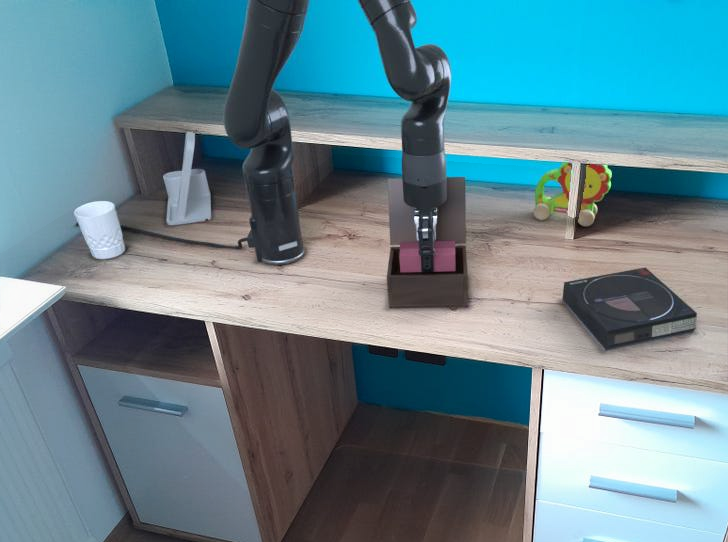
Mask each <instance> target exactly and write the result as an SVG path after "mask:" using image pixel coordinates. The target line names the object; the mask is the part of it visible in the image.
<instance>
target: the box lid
mask: <svg viewBox="0 0 728 542" xmlns="http://www.w3.org/2000/svg"><path fill="white" fill-rule="evenodd" d="M387 192H388V193H387V197H388V220H389V221H388V222H389V223H388V224H389V245H390V246H400V242H419V241H418V240H417V237H416V224H415V220H414V214H415V208H414V207H410V206H408V205H407V204H406V203H405V202H404V197H403V181H402V177H401V178H387ZM466 196H467V195H466V176H447V200H446V201H445V203H444V204H442V205H440V206H438V207H434V208H437V224H436V240H434V241H455V245H457V244H458V245H459V244H460V245H461V244H467V212H466V211H467V210H466V209H467V208H466V207H467V206H466V203H467V202H466V201H467V200H466V199H467V198H466Z"/></svg>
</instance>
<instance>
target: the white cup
mask: <svg viewBox="0 0 728 542" xmlns="http://www.w3.org/2000/svg"><path fill="white" fill-rule="evenodd" d="M73 215H74V217H75V219H76V223H77V222H78V224H79V229H80V231H81V234H82V236H83V238H84V240H85V242H86V244H87V246H88V249H89V251H90V254H91V256H92V257H93V258H94V259H96V260H109V259H113V258H116V257H118V256H120V255H122V254H123V253H124V252H125V251H126V245H125V241H124V236H123V231H122V229H121V227H120V225H121V224H120V220H119V217H118V213H117V209H116V206H115V203H113V202H111V201H107V200H97V201H91V202H88V203H84V204H81V205H80V206H78V207H76V208H75V210H74V211H73Z"/></svg>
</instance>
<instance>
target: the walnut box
mask: <svg viewBox="0 0 728 542" xmlns="http://www.w3.org/2000/svg"><path fill="white" fill-rule="evenodd" d="M399 253H400V246H390V248H389V257H388V264H387V270H386V271H387V272H386V284H387V285H386V286H387V287H386V288H387V298H388V308H389V310H390V309H429V308H430V309H436V308H437V309H438V308H439V309H441V308H442V309H443V308H468V305H469V303H468V302H469V300H468V299H469V298H468V296H469V288H468V287H469V285H468V283H469V278H468V277H469V275H468V274H469V273H468V258H467V245H455V271H445V272H400V259H399Z"/></svg>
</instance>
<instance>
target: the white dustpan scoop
mask: <svg viewBox="0 0 728 542" xmlns="http://www.w3.org/2000/svg"><path fill="white" fill-rule="evenodd" d="M195 143H196V132H195V133H193V132H187V133H186V132H185V139H184V149H183V159H182V168H181V170H175V171H169V172H166V173H165V174H163V176H162V179H163V182H164V186H165V190H166V193H167V207H166V208H167V209H166V219H165V221H166V224H167V226H177V225H178V226H179V225H184V224H191V223H193V224H194V223H199V222H200V223H201V222H205V221H206V220H208V221H210V220H211V219H212V201H211V200H212V199H211V197H212V196H211V191H210V187H209V183H208V179H207V178H208V177H207V175H206V171H205V170H204V169H202V168H192V166H193V159H194V154H195V153H194V152H195Z"/></svg>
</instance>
